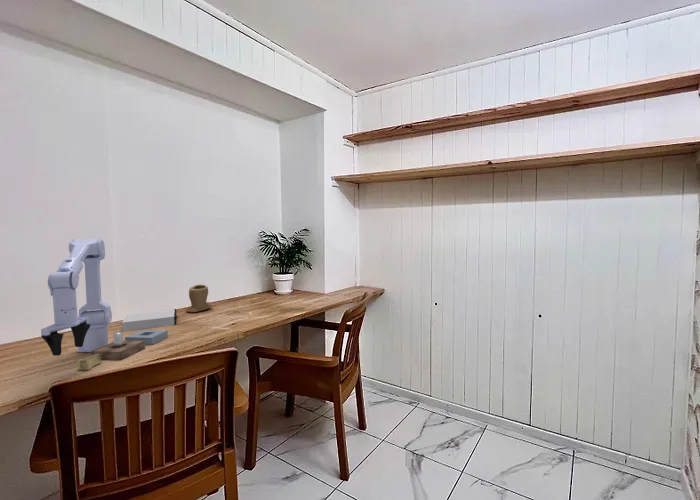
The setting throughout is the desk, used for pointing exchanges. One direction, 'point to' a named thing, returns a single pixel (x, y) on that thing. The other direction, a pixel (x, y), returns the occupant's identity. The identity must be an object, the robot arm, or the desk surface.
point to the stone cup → (198, 298)
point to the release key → (89, 362)
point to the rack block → (148, 336)
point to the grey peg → (118, 339)
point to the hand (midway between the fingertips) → (68, 350)
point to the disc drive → (149, 320)
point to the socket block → (119, 350)
